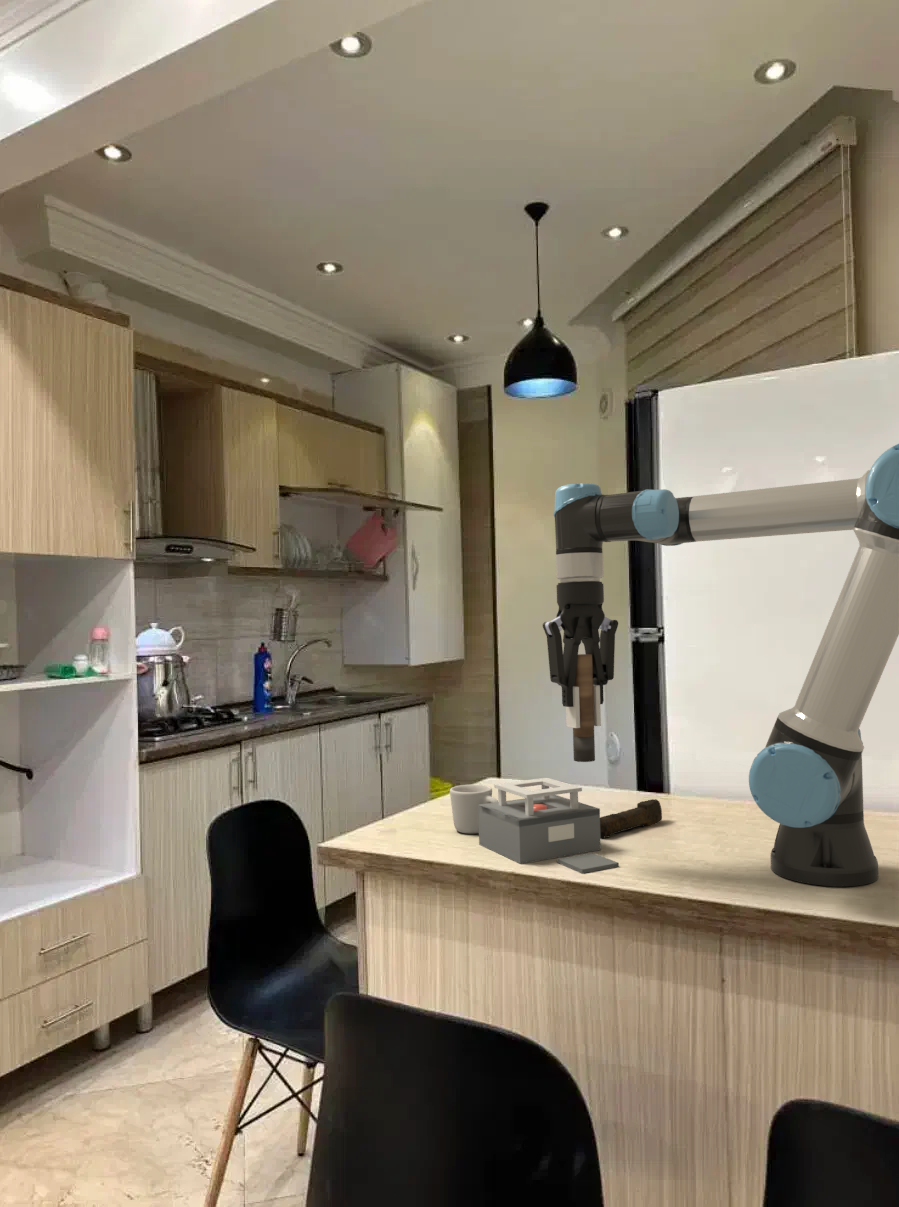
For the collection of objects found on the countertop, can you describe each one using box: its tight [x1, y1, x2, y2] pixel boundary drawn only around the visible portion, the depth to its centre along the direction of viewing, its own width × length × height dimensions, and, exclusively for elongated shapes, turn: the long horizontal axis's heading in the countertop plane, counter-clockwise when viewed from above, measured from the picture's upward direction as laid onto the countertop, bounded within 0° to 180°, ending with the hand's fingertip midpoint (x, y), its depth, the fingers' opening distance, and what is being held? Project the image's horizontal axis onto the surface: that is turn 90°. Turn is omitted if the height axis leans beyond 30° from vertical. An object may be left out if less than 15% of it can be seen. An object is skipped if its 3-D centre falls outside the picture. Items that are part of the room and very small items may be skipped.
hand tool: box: [600, 799, 663, 840], centre depth 163 cm, size 19×4×5 cm, turn 127°
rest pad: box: [556, 852, 620, 874], centre depth 141 cm, size 7×7×1 cm
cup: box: [449, 784, 499, 835], centre depth 164 cm, size 11×8×8 cm
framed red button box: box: [478, 777, 602, 865], centre depth 152 cm, size 14×16×11 cm
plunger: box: [533, 804, 547, 811], centre depth 152 cm, size 3×3×7 cm
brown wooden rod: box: [572, 653, 596, 763], centre depth 141 cm, size 3×3×17 cm
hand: (583, 725), depth 141 cm, fingers closed on brown wooden rod, 3 cm apart
